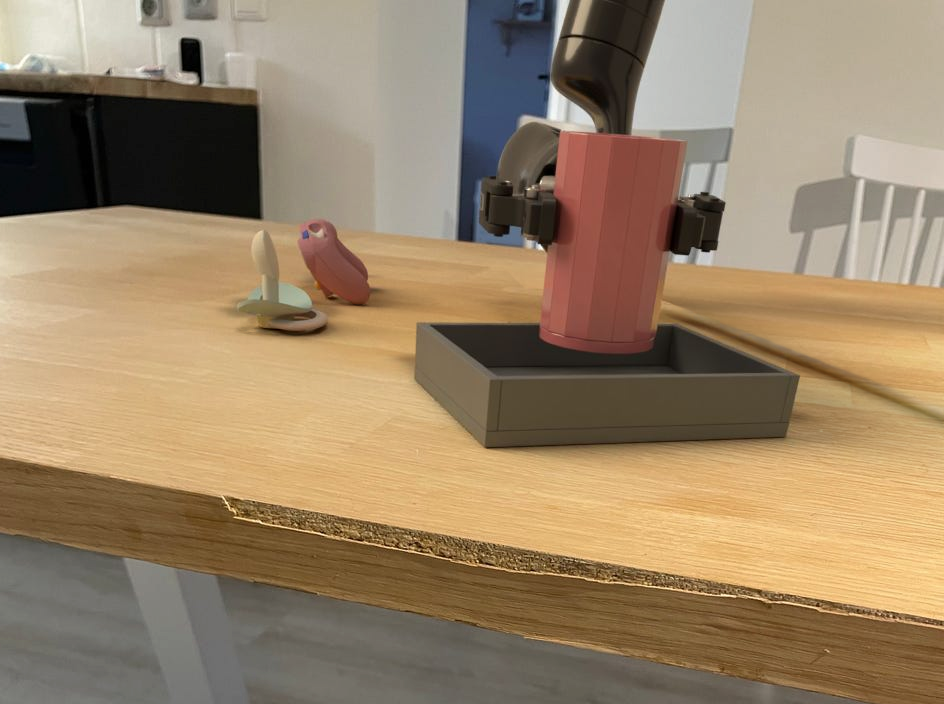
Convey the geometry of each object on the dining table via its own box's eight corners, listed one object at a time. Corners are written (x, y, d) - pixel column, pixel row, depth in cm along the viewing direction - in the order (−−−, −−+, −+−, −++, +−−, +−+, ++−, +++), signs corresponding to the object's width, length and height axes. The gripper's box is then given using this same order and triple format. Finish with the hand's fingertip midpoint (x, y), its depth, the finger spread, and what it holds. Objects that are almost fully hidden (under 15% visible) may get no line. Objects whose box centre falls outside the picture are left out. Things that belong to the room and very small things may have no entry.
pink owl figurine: (326, 302, 85) (288, 224, 82) (372, 280, 85) (336, 201, 81) (324, 324, 77) (282, 238, 73) (375, 300, 76) (335, 213, 73)
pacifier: (333, 320, 71) (253, 312, 71) (336, 231, 68) (252, 222, 68) (320, 341, 65) (232, 332, 65) (322, 243, 62) (229, 233, 62)
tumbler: (622, 328, 56) (650, 136, 51) (673, 354, 51) (710, 143, 46) (522, 328, 54) (541, 128, 49) (565, 354, 49) (591, 134, 44)
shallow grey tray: (668, 375, 62) (677, 323, 60) (786, 436, 51) (800, 375, 49) (414, 379, 57) (416, 322, 55) (484, 447, 46) (489, 379, 44)
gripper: (477, 125, 60) (479, 131, 45) (703, 143, 60) (778, 154, 46) (469, 252, 63) (468, 295, 49) (682, 268, 64) (744, 316, 49)
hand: (617, 227), depth 47 cm, fingers closed on tumbler, 6 cm apart
